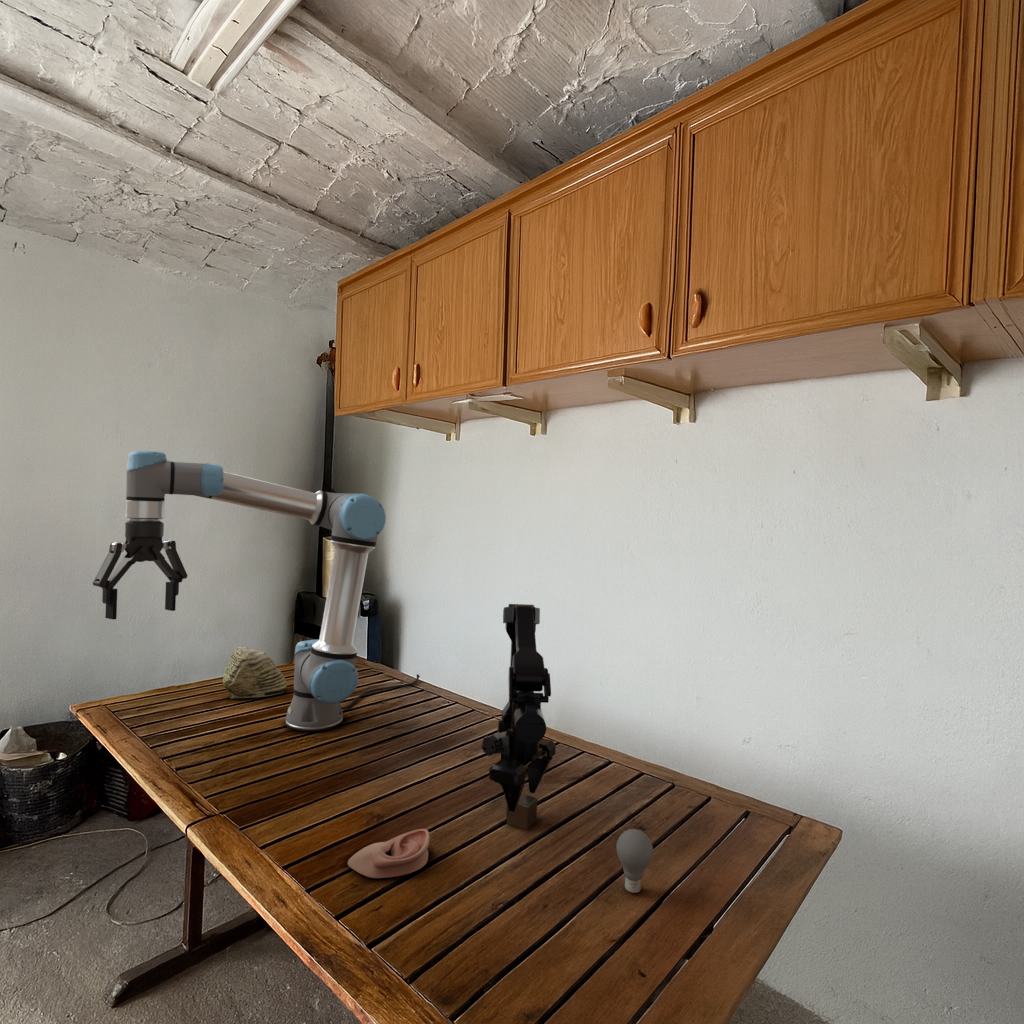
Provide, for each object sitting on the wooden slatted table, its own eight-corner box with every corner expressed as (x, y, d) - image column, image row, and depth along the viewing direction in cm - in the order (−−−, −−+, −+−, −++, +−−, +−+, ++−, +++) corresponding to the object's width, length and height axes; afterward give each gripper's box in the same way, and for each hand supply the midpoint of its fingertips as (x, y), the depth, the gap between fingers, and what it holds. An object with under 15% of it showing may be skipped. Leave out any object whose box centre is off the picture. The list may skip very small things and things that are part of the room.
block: (516, 814, 130) (517, 792, 130) (536, 820, 128) (537, 798, 128) (506, 823, 126) (507, 801, 126) (526, 829, 124) (527, 807, 124)
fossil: (218, 695, 195) (220, 647, 195) (278, 685, 208) (279, 640, 207) (228, 703, 189) (230, 653, 188) (289, 692, 201) (290, 645, 201)
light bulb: (610, 879, 108) (613, 822, 108) (644, 879, 109) (647, 822, 109) (619, 902, 102) (622, 840, 102) (655, 901, 103) (658, 840, 103)
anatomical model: (339, 849, 107) (368, 816, 118) (339, 872, 107) (367, 837, 118) (414, 862, 104) (436, 827, 115) (413, 885, 104) (435, 848, 116)
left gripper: (185, 518, 155) (182, 605, 155) (75, 519, 133) (72, 620, 133) (205, 520, 151) (202, 608, 152) (96, 521, 129) (93, 624, 130)
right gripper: (511, 704, 139) (508, 775, 139) (467, 730, 122) (463, 810, 122) (558, 714, 134) (554, 787, 134) (518, 742, 117) (514, 826, 117)
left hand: (141, 614), depth 142 cm, fingers open, 13 cm apart
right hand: (522, 801), depth 127 cm, fingers open, 9 cm apart
